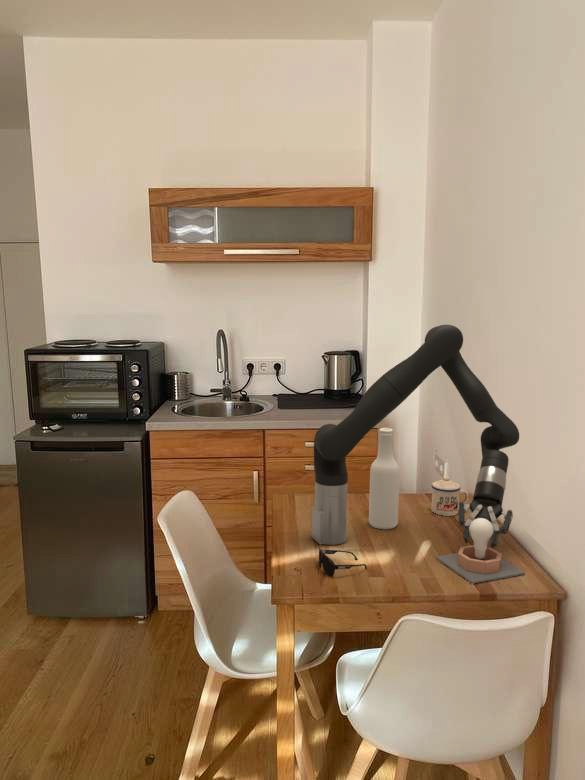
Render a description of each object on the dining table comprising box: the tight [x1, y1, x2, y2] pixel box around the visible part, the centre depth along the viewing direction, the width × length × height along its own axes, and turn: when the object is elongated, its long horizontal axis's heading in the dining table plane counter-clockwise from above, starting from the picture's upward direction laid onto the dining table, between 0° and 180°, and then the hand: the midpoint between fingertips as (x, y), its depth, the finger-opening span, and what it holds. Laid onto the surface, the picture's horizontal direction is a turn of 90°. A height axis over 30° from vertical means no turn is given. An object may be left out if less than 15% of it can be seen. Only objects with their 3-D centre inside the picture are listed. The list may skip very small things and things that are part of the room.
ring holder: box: [435, 544, 526, 584], centre depth 166 cm, size 16×16×4 cm
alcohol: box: [368, 427, 400, 530], centre depth 193 cm, size 9×9×30 cm
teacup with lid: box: [430, 476, 469, 517], centre depth 207 cm, size 12×9×12 cm
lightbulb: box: [469, 518, 494, 559], centre depth 165 cm, size 6×6×11 cm
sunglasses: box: [318, 547, 367, 577], centre depth 165 cm, size 10×12×5 cm
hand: (479, 543), depth 164 cm, fingers closed on lightbulb, 6 cm apart
